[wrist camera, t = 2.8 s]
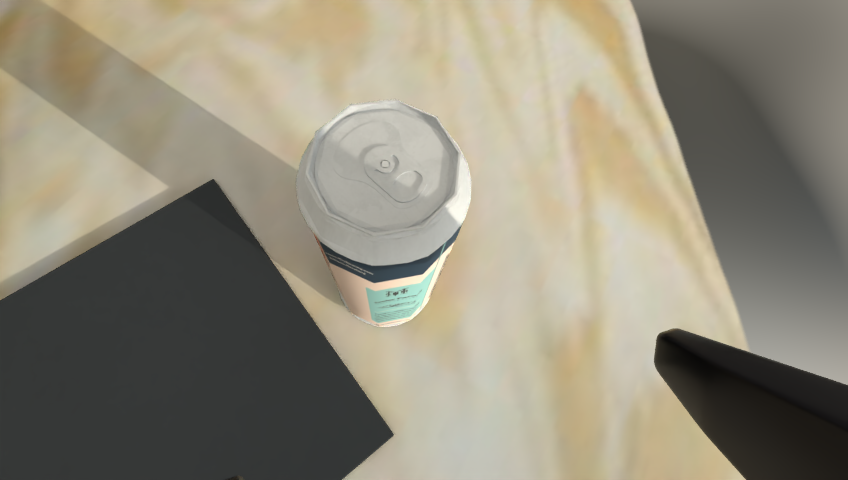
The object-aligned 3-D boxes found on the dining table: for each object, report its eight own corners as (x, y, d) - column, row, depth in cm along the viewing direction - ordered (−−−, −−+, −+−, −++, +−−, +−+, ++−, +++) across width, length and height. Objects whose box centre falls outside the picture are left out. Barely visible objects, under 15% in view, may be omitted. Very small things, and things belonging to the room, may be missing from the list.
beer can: (384, 220, 23) (383, 56, 12) (451, 279, 22) (516, 162, 11) (318, 283, 22) (246, 163, 11) (386, 349, 21) (387, 294, 10)
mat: (393, 434, 20) (393, 435, 19) (-25, 792, 15) (-33, 799, 15) (215, 181, 23) (212, 178, 23) (-172, 402, 18) (-180, 402, 18)
